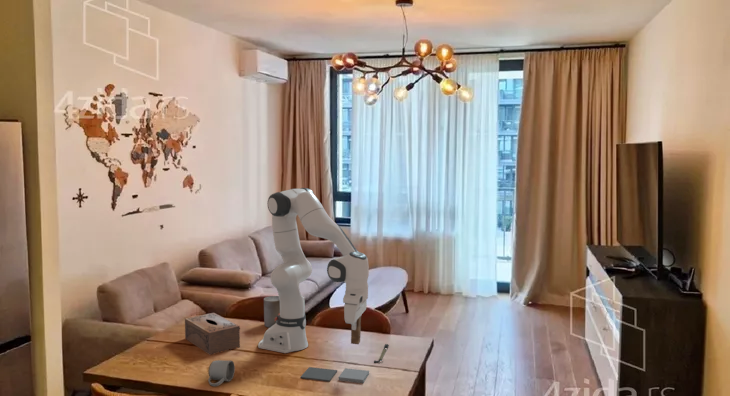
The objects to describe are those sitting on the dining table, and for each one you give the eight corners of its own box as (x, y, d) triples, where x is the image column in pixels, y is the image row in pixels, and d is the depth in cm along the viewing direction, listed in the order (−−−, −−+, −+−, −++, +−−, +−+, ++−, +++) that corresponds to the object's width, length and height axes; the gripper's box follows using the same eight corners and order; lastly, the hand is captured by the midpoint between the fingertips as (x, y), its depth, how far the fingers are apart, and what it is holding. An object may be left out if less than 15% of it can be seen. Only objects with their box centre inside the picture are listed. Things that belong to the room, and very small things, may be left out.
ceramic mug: (216, 374, 226) (215, 356, 225) (235, 376, 224) (234, 357, 223) (203, 386, 215) (202, 366, 215) (223, 388, 214) (222, 368, 213)
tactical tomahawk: (388, 367, 237) (389, 364, 237) (373, 364, 239) (373, 361, 238) (398, 348, 257) (398, 346, 257) (384, 345, 259) (384, 343, 259)
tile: (345, 372, 230) (338, 381, 221) (345, 368, 230) (338, 377, 221) (369, 375, 227) (363, 384, 219) (369, 370, 227) (363, 379, 218)
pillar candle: (286, 322, 290) (285, 293, 289) (279, 328, 281) (278, 298, 279) (268, 321, 292) (267, 292, 291) (260, 327, 283) (260, 297, 281)
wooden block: (350, 343, 225) (351, 309, 223) (353, 340, 228) (353, 307, 226) (358, 344, 224) (359, 310, 222) (360, 341, 227) (361, 307, 225)
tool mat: (300, 378, 223) (300, 376, 223) (309, 368, 232) (309, 366, 232) (329, 381, 220) (329, 380, 220) (337, 371, 229) (337, 370, 229)
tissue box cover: (239, 347, 256) (239, 326, 255) (209, 355, 246) (209, 332, 245) (214, 332, 275) (213, 312, 274) (185, 339, 266) (184, 318, 265)
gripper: (355, 286, 234) (355, 318, 236) (341, 299, 215) (340, 335, 216) (370, 287, 233) (369, 320, 234) (357, 301, 213) (356, 337, 215)
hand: (355, 327), depth 225 cm, fingers closed on wooden block, 3 cm apart
